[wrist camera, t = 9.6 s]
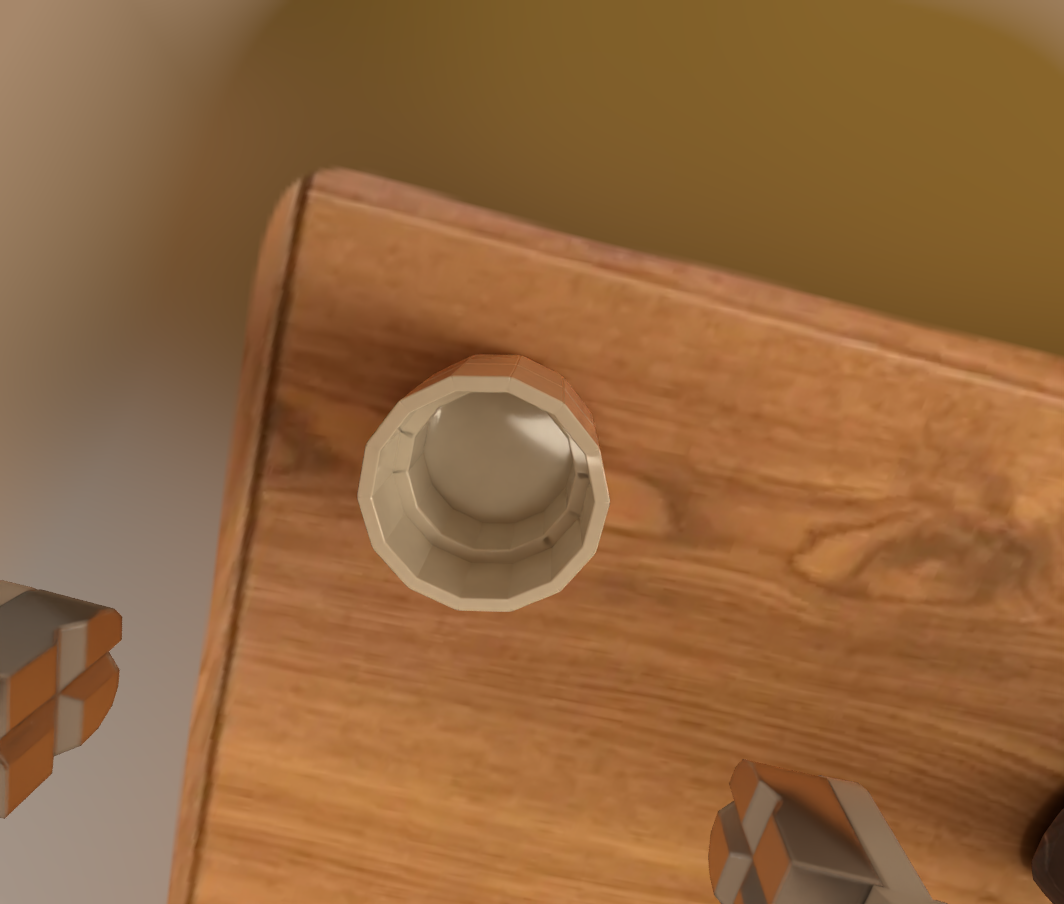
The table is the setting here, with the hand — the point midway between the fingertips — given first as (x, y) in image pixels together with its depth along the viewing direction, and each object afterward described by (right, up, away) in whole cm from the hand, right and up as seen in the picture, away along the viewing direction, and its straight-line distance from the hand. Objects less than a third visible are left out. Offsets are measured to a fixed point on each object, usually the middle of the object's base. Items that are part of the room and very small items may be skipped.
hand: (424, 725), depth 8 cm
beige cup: (0, +4, +13) cm, 14 cm away
